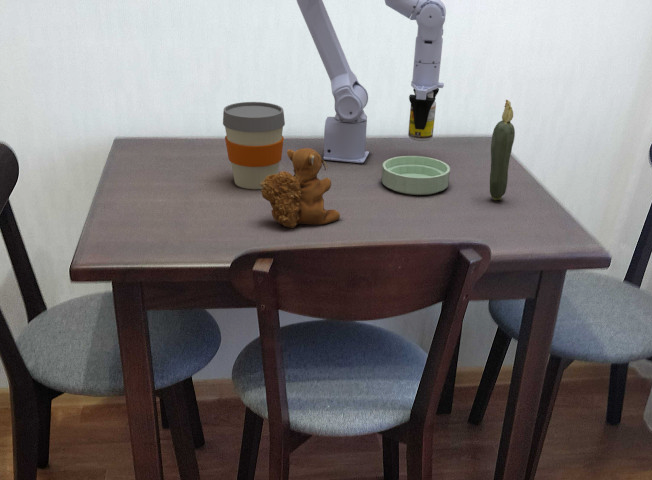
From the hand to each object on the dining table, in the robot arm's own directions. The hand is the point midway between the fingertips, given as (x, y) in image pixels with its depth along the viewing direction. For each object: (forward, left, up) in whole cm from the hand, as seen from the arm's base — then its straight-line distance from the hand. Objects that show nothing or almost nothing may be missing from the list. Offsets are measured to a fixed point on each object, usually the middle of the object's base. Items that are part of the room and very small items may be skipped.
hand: (421, 125), depth 172 cm
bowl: (+1, -15, -9) cm, 17 cm away
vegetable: (+18, -20, -9) cm, 28 cm away
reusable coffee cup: (-32, -23, -9) cm, 40 cm away
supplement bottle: (0, 0, -3) cm, 3 cm away
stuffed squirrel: (-18, -41, -9) cm, 45 cm away
